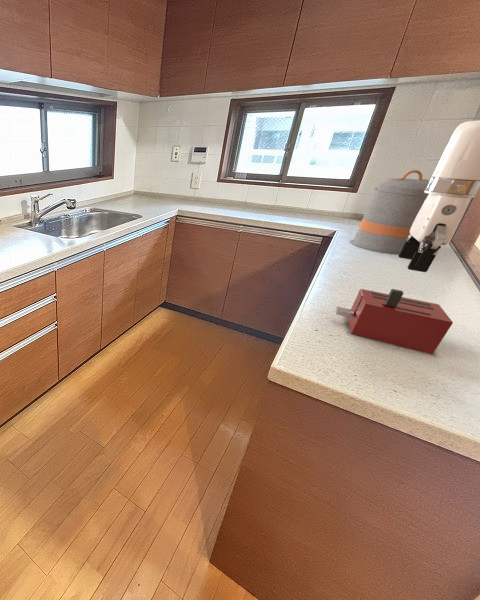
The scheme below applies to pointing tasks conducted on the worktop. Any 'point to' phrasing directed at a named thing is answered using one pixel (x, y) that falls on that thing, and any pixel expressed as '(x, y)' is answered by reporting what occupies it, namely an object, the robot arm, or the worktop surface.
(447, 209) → the robot arm
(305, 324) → the worktop surface
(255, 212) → the worktop surface
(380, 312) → the toaster
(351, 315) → the brushed metal plate
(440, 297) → the worktop surface
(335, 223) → the worktop surface
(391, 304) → the slider
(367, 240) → the storage container
